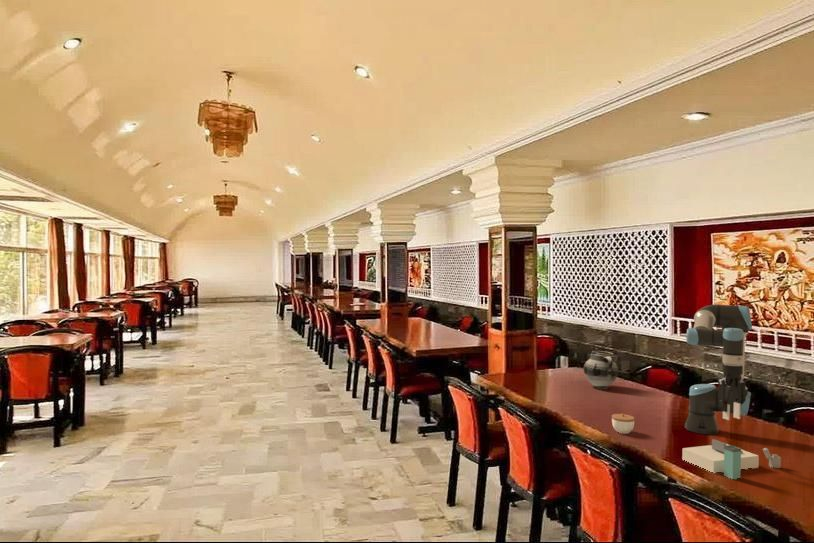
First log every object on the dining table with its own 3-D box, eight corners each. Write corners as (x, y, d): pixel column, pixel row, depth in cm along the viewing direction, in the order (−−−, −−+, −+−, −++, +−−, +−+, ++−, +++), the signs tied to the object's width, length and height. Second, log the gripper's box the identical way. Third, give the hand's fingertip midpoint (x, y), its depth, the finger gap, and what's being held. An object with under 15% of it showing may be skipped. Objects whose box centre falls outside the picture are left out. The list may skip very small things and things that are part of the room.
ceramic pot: (575, 383, 385) (576, 348, 384) (605, 383, 387) (606, 348, 387) (594, 393, 356) (595, 355, 356) (627, 392, 359) (628, 355, 359)
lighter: (777, 466, 227) (778, 447, 227) (781, 467, 225) (781, 448, 225) (761, 466, 226) (762, 447, 226) (765, 468, 225) (765, 449, 224)
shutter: (726, 447, 235) (726, 436, 235) (742, 453, 227) (742, 442, 227) (709, 448, 232) (710, 438, 232) (725, 455, 225) (726, 444, 225)
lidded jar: (620, 436, 265) (620, 417, 265) (607, 429, 275) (607, 411, 275) (639, 434, 268) (639, 415, 268) (624, 428, 278) (625, 410, 278)
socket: (725, 454, 240) (725, 443, 240) (758, 467, 225) (758, 455, 225) (682, 459, 233) (682, 448, 233) (713, 473, 218) (713, 461, 218)
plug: (731, 474, 217) (732, 445, 216) (740, 478, 213) (741, 448, 213) (723, 475, 215) (724, 445, 215) (732, 479, 211) (733, 449, 211)
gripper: (723, 367, 224) (722, 422, 224) (756, 365, 229) (755, 419, 230) (708, 363, 231) (707, 417, 231) (741, 362, 237) (740, 414, 237)
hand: (731, 418), depth 230 cm, fingers open, 5 cm apart
